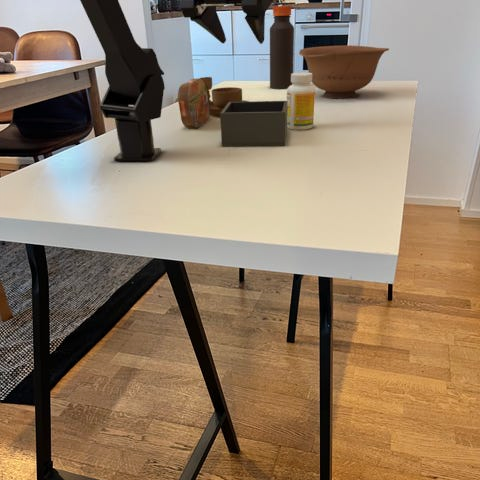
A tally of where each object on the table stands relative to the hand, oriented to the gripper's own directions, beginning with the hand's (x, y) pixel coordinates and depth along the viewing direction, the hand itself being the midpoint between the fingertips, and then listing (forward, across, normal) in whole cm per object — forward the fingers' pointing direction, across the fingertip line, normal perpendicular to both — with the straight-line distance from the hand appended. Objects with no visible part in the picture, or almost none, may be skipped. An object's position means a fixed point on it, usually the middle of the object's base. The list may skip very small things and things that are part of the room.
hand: (242, 42), depth 94 cm
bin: (+6, -10, +17) cm, 21 cm away
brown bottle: (+37, +19, -29) cm, 51 cm away
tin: (+9, +9, +13) cm, 18 cm away
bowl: (+33, -3, -24) cm, 41 cm away
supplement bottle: (+13, -13, +8) cm, 20 cm away
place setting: (+18, +12, -1) cm, 22 cm away
